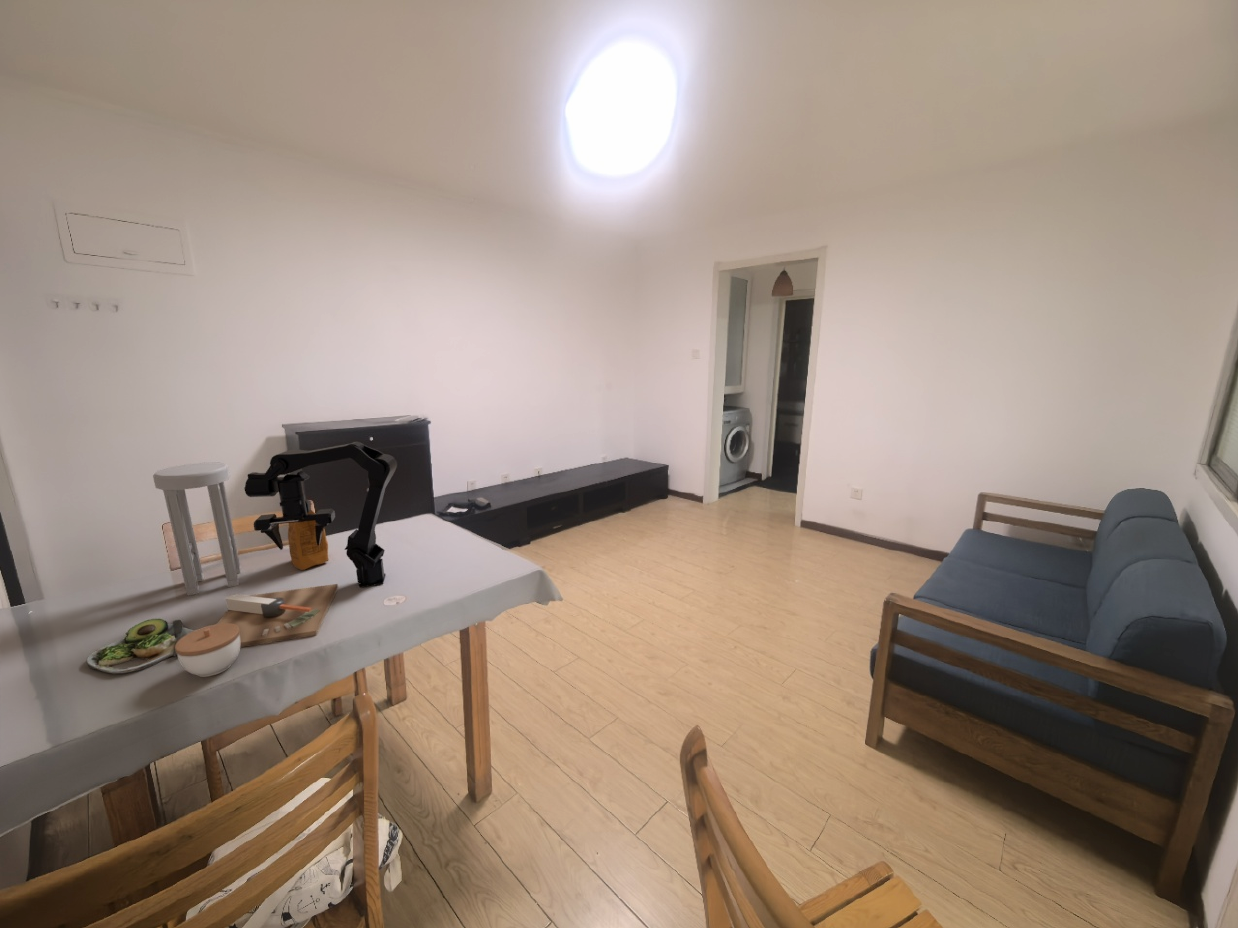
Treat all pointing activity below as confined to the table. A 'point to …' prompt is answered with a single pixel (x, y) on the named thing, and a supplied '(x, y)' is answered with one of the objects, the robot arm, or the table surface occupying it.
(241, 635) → the cutting board
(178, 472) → the stool
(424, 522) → the table surface
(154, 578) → the table surface
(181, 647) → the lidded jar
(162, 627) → the salad plate
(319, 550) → the coffee package
